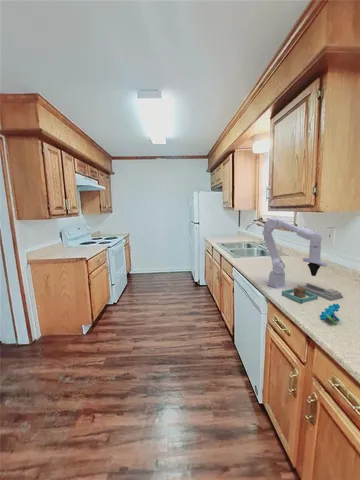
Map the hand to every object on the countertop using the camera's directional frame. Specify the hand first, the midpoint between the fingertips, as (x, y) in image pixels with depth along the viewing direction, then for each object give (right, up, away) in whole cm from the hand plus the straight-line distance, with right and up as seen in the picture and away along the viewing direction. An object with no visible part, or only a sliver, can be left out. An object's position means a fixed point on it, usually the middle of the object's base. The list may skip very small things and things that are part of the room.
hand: (313, 275), depth 140 cm
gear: (-12, -15, -33) cm, 38 cm away
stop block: (-12, -11, -8) cm, 18 cm away
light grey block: (+4, -11, -10) cm, 15 cm away
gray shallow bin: (+1, -10, -3) cm, 10 cm away
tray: (-13, -11, -8) cm, 19 cm away
